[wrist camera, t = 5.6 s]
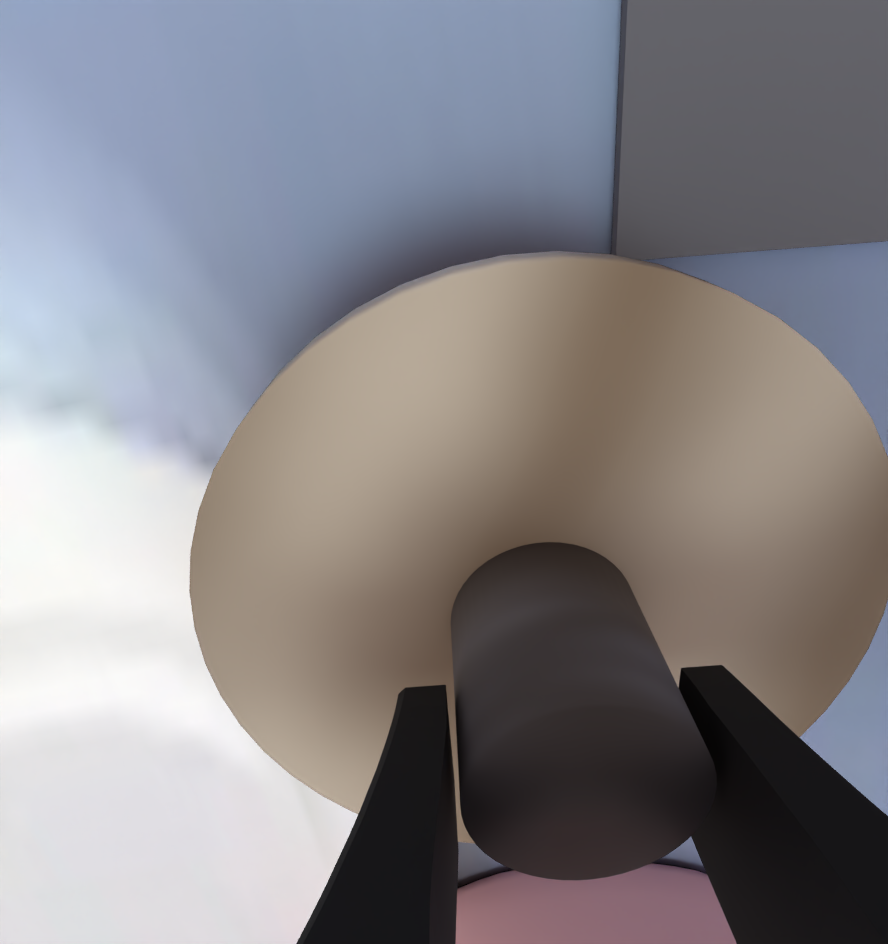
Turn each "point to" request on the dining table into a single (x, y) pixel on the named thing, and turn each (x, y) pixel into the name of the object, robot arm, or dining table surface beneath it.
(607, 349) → the lid
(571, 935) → the cake
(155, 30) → the dining table surface
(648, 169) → the mat
